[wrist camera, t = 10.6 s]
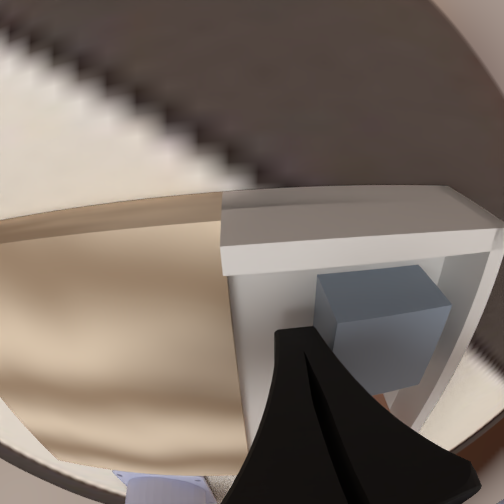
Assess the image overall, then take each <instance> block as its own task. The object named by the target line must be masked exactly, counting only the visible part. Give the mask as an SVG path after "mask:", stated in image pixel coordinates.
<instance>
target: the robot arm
mask: <svg viewBox="0 0 504 504" xmlns="http://www.w3.org/2000/svg"><path fill="white" fill-rule="evenodd" d="M112 472H113V473H114V474H115V475H116V476H117V477H118V478H119V479H120V480H121V481H122V482H123V483H124V484H125V485H126V486H127V492H126V500H125V504H217V501H216V499H215V497H214V495H213V493H212V491H211V489H210V487H209V485H208V484H207V482H206V480H205V478H204V476H181V475H160V474H146V473H135V472H126V471H118V470H112ZM481 486H482V485H481V483H480V481H479V478H478V476H477V473H476V471H475V469H474V468H473V466H472V464H471V462H470V461H468V460H466V459H464V458H461V457H459V456H457V455H455V454H453V453H451V452H449V451H447V450H445V449H443V448H441V447H440V446H438V445H436V444H434V443H433V442H431V441H429V440H428V439H426V438H425V437H423V436H422V435H420V434H419V433H417V432H416V431H414V430H413V429H412V428H410V427H409V426H407V425H406V424H404V423H403V422H402V421H400V420H399V419H398V418H397V417H395V416H394V415H393V414H392V413H390V412H389V411H388V410H387V409H386V408H385V407H383V406H382V405H381V404H380V403H379V402H378V401H377V400H376V399H375V398H374V397H372V396H371V395H370V394H369V393H368V392H367V391H366V390H365V389H364V387H363V386H362V385H361V384H360V383H359V382H358V381H357V380H356V379H355V378H354V377H353V376H352V375H351V373H350V372H349V371H348V370H347V369H346V368H345V366H344V365H343V364H342V363H341V362H340V360H339V359H338V358H337V357H336V355H335V354H334V353H333V352H332V350H331V349H330V348H329V346H328V345H327V344H326V342H325V341H324V339H323V338H322V337H321V335H320V334H319V332H318V331H317V329H316V328H315V327H314V326H307V327H298V328H288V329H278V330H276V331H275V332H274V370H273V376H272V382H271V386H270V390H269V394H268V398H267V402H266V406H265V409H264V413H263V416H262V419H261V422H260V424H259V427H258V430H257V433H256V435H255V438H254V440H253V443H252V445H251V448H250V450H249V452H248V454H247V457H246V459H245V461H244V463H243V465H242V467H241V469H240V471H239V473H238V475H237V476H236V478H235V480H234V482H233V484H232V486H231V488H230V489H229V491H228V493H227V494H226V496H225V497H224V499H223V501H222V502H221V504H462V503H463V502H465V501H466V500H467V499H469V498H470V497H472V496H473V495H474V494H476V493H477V492H478V491H479V490H480V489H481ZM497 504H504V499H503V500H502V501H500V502H499V503H497Z"/></svg>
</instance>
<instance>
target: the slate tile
mask: <svg viewBox="0 0 504 504" xmlns="http://www.w3.org/2000/svg"><path fill="white" fill-rule="evenodd" d="M451 307H452V304H451V302H450V301H449V300H448V299H447V298H446V296H445V295H444V294H443V293H442V292H441V290H440V289H439V288H438V287H437V286H436V284H435V283H434V282H433V281H432V280H431V279H430V277H429V276H428V275H427V274H426V273H425V272H424V270H423V269H422V268H421V267H420V266H419V265H410V266H401V267H391V268H381V269H371V270H361V271H350V272H340V273H329V274H317V281H316V294H315V306H314V317H313V326H314V327H315V328H316V329H317V331H318V332H319V334H320V335H321V337H322V338H323V339H324V341H325V342H326V344H327V345H328V346H329V348H330V349H331V350H332V352H333V353H334V354H335V355H336V357H337V358H338V359H339V360H340V362H341V363H342V364H343V365H344V366H345V368H346V369H347V370H348V371H349V372H350V373H351V375H352V376H353V377H354V378H355V379H356V380H357V381H358V382H359V383H360V384H361V385H362V386H363V387H364V389H365V390H366V391H367V392H368V393H369V394H370V395H371V396H373V395H377V394H382V393H386V392H391V391H395V390H399V389H403V388H407V387H411V386H415V385H418V384H419V383H420V381H421V379H422V377H423V375H424V373H425V370H426V368H427V366H428V364H429V362H430V359H431V357H432V355H433V353H434V350H435V348H436V346H437V343H438V341H439V338H440V336H441V333H442V331H443V328H444V326H445V323H446V321H447V318H448V315H449V313H450V310H451Z"/></svg>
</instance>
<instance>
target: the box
mask: <svg viewBox="0 0 504 504" xmlns="http://www.w3.org/2000/svg"><path fill="white" fill-rule="evenodd" d="M220 253H221V262H222V271H223V276H228V283H229V293H230V302H231V311H232V321H233V330H234V339H235V347H236V356H237V364H238V373H239V381H240V389H241V397H242V405H243V413H244V421H245V428H246V436H247V443H248V451H249V450H250V448H251V445H252V443H253V440H254V438H255V435H256V433H257V430H258V427H259V424H260V422H261V419H262V416H263V413H264V409H265V406H266V402H267V398H268V394H269V390H270V386H271V382H272V376H273V370H274V332H275V331H276V330H278V329H288V328H298V327H307V326H313V317H314V306H315V294H316V281H317V274H329V273H340V272H350V271H361V270H371V269H381V268H391V267H401V266H410V265H419V266H420V267H421V268H422V269H423V270H424V272H425V273H426V274H427V275H428V276H429V277H430V279H431V280H432V281H433V282H434V283H435V284H436V286H437V287H438V288H439V289H440V290H441V292H442V293H443V294H444V295H445V296H446V298H447V299H448V300H449V301H450V302H451V304H452V307H451V310H450V313H449V315H448V318H447V321H446V323H445V326H444V328H443V331H442V333H441V336H440V338H439V341H438V343H437V346H436V348H435V350H434V353H433V355H432V357H431V359H430V362H429V364H428V366H427V368H426V370H425V373H424V375H423V377H422V379H421V381H420V383H419V384H418V385H415V386H411V387H407V388H403V389H399V390H395V391H391V392H386V393H383V395H384V398H385V400H386V402H387V405H388V407H389V410H390V412H391V413H392V414H393V415H394V416H395V417H397V418H398V419H399V420H400V421H402V422H403V423H404V424H406V425H407V426H409V427H410V428H412V429H413V430H414V431H416V432H417V433H418V432H419V430H420V429H421V427H422V426H423V424H424V423H425V421H426V420H427V418H428V417H429V415H430V414H431V412H432V410H433V409H434V407H435V405H436V404H437V402H438V401H439V399H440V397H441V395H442V394H443V392H444V390H445V389H446V387H447V385H448V383H449V381H450V380H451V378H452V376H453V374H454V372H455V370H456V368H457V367H458V365H459V363H460V361H461V359H462V357H463V355H464V353H465V351H466V349H467V347H468V345H469V342H470V340H471V338H472V336H473V334H474V332H475V329H476V327H477V325H478V323H479V320H480V318H481V316H482V313H483V311H484V308H485V306H486V303H487V301H488V298H489V296H490V293H491V290H492V287H493V285H494V282H495V279H496V276H497V273H498V270H499V267H500V264H501V261H502V258H503V255H504V222H503V221H501V220H500V219H499V218H497V217H496V216H494V215H493V214H491V213H490V212H488V211H487V210H485V209H484V208H482V207H481V206H479V205H478V204H476V203H475V202H473V201H472V200H470V199H468V198H467V197H465V196H464V195H462V194H461V193H459V192H457V191H456V190H454V189H452V188H451V187H449V186H438V185H350V186H315V187H291V188H272V189H255V190H240V191H226V192H222V210H221V231H220Z"/></svg>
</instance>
